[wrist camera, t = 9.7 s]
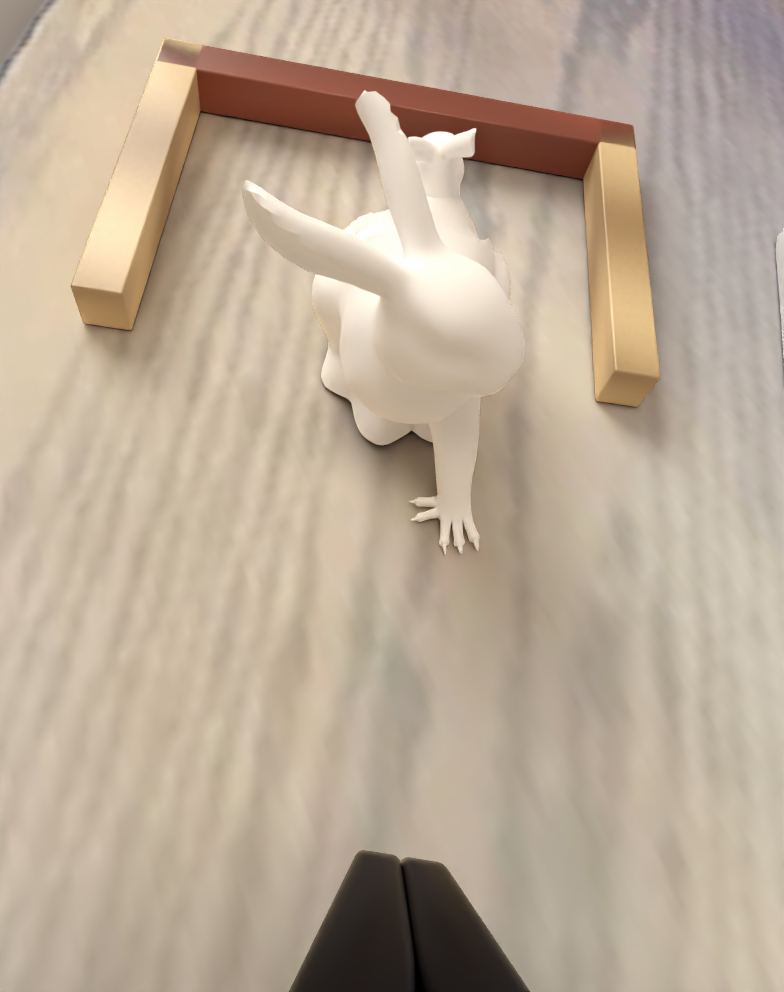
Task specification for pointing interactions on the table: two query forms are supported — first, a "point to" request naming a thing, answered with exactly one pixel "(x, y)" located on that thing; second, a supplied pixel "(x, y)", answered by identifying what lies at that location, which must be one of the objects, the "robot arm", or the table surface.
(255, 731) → the table surface
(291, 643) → the table surface
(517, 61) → the table surface
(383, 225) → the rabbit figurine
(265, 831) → the table surface
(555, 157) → the bay
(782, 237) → the hard drive
